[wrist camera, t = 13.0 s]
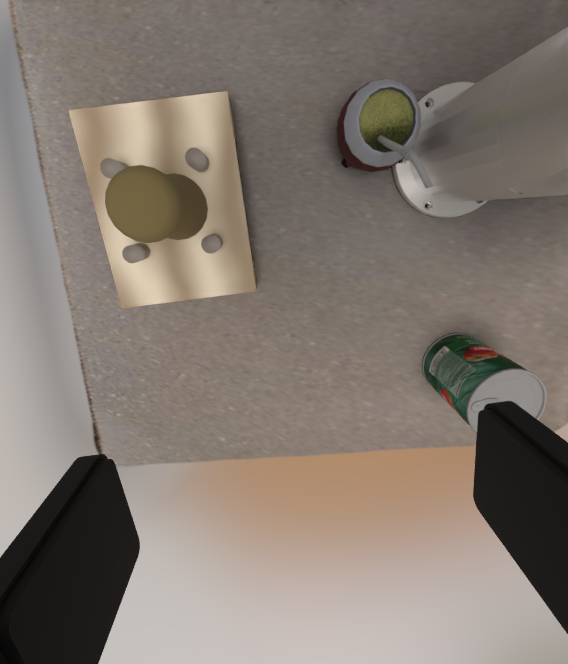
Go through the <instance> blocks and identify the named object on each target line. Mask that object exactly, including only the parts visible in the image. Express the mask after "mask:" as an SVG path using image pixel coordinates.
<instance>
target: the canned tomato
mask: <svg viewBox="0 0 568 664" xmlns="http://www.w3.org/2000/svg"><path fill="white" fill-rule="evenodd" d="M422 371H423V375H424V377H425V379H426V381H427V382H428V383H429V384H430V385H431V386H432V387H433V388H434V389H435V390H436V391H437V392H438V393H439V394H440V395H441V396H442V397H443V398H444V399H445V400H446V401H447V402H448V404H450V406H451V407H452V408H453V409H454V410H455V411H456V412H457V413H458V414H459V415H460V416H461V417H462V418H463V419H464V420H465V421H466V422H467V423H468V424H469V425H470V426H471V428H472V429H473V430H474V431H475V432H476V433H477V424H478V413H479V412H480V411H481V410H484V407H485V405H486V404H488V403H496V402H503V401H512V402H514V403H516V404H517V405H519V406H520V407H521V408H523V409H524V410H525V411H526V412H528V413H529V414H530V415H532V416H533V417H534V418H536V419H537V420H539V419H540V417H541V416H542V414H543V412H544V410H545V406H546V403H547V392H546V388H545V386H544V383H543V382H542V381H541V379H540V378H539V377H538V376H536V375H535V374H534V373H532V372H530V371H528V370H526V369H524V368H523V367H522V366H520V365H518V364H516V363H515V362H513V361H511V360H510V359H508V358H507V357H505V356H503V355H502V354H500V353H498V352H497V351H495V350H493V349H491V348H490V347H488V346H486V345H485V344H483V343H481V342H480V341H478V340H476V339H475V338H474V337H472V336H470V335H468V334H463V333H453V334H448V335H446V336H443V337H441V338H439V339H438V340H436V341H435V342H434V343H433V344H432V345H431V346H430V347H429V348H428V350H427V352H426V353H425V356H424V358H423V363H422Z"/></svg>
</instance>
